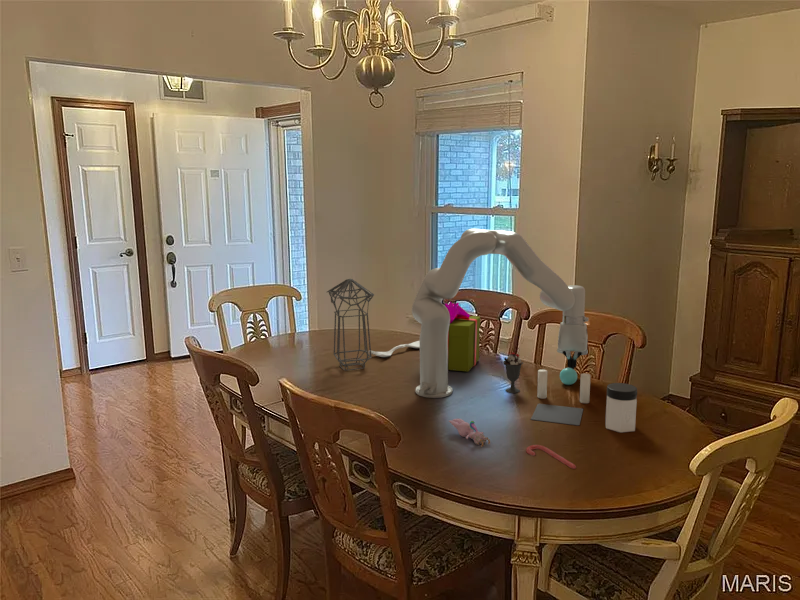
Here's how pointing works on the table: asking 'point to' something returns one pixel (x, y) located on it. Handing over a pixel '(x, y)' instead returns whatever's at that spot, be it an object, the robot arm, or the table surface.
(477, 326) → the gift box
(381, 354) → the spoon
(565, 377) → the ball
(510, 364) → the sundae
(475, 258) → the robot arm
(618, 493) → the table surface
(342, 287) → the geometric lantern
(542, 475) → the table surface
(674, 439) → the table surface
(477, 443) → the pink elongated figure
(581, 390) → the right post
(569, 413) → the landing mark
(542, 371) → the left post
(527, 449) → the candy cane
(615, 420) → the jar
